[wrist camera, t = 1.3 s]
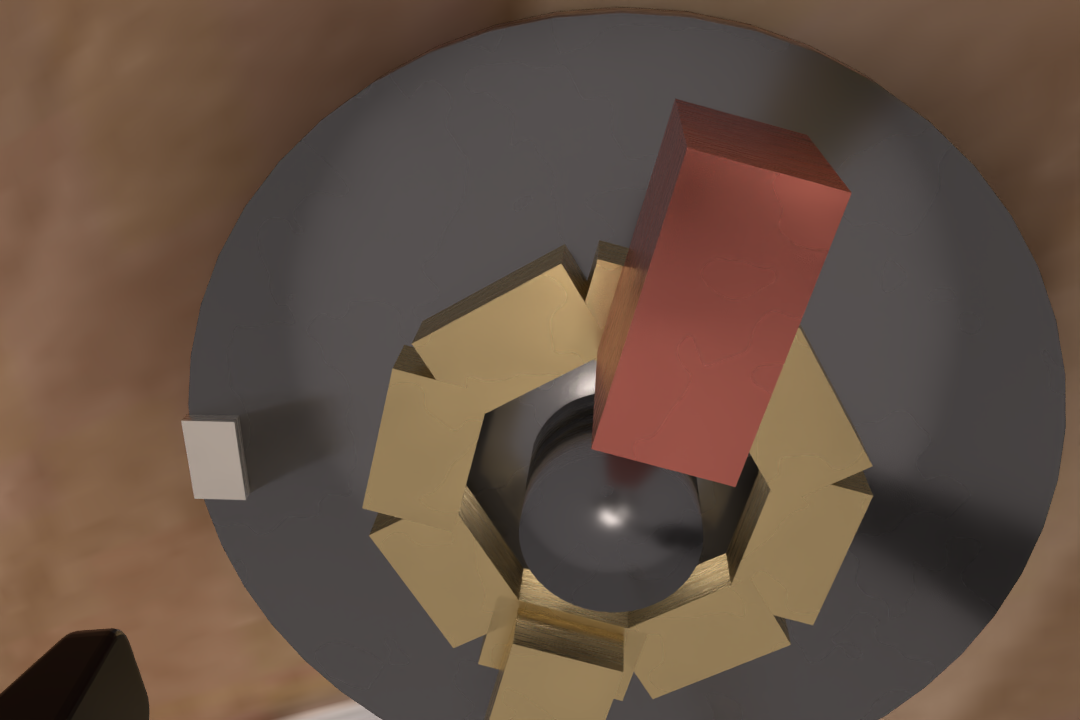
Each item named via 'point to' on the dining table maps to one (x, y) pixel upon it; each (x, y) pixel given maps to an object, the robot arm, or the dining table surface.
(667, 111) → the cap plate
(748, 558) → the colourful block cluster
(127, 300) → the dining table surface
